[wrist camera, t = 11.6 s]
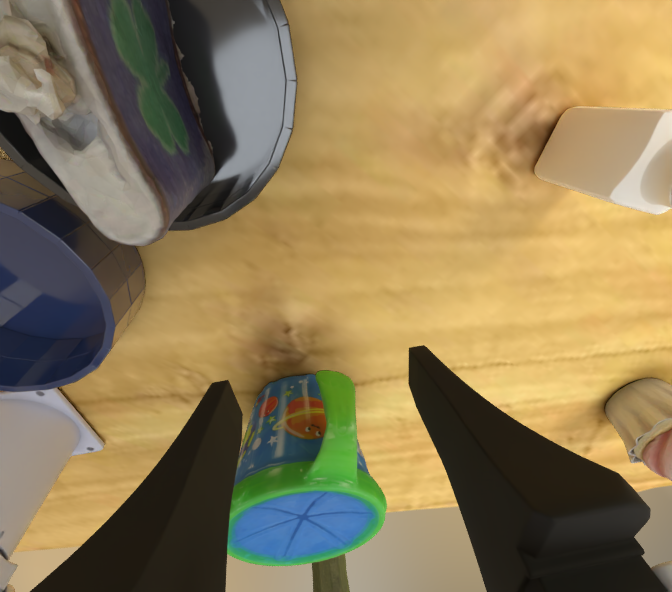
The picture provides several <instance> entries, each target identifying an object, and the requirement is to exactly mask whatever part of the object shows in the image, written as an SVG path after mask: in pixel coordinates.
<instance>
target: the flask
mask: <svg viewBox="0 0 672 592" xmlns="http://www.w3.org/2000/svg"><path fill="white" fill-rule="evenodd" d="M173 24H175V21H173V20H172V16H171V12H170V8H169V2H168V0H0V110H3V111H5V112H14V113H15V114H16V115H17V117H18V118H19V119H20V121H21V123H22V125H23V127H24V129H25V131H26V132H27V133H28V135H29V136H30V137H31V138H32V140H33V141H34V143H35V145H36V147H37V149H38V151H39V153H40V154H41V155H42V157H43V158H44V159H45V161H46V162H47V163H48V164H49V166H50V167H51V168H52V170H53V171H54V172H55V174H56V175H57V176H58V178H59V179H60V181H61V182H62V183H63V185H64V186H65V188H66V189H67V191H68V192H69V194H70V195H71V197H72V198H73V200H74V201H75V203H76V204H77V205H78V207H79V208H80V209H81V210H82V211H83V212H84V213H85V214H86V215H87V216H88V217H89V219H90V220H91V222H92V223H93V225H94V226H95V227H96V228H97V229H98V230H99V231H100V232H101V233H102V234H103V235H105V236H106V237H107V238H109V239H110V240H113V241H116V242H118V243H120V244H125V245H131V246H146V245H149V244H152V243H154V242H156V241H158V240H160V239H161V238H163V237H164V236H165V235H166V233H167V232H168V230H169V228H170V226H171V224H172V223H173V221H174V220H175V219H176V218H177V217H178V216H179V215H180V213H181V212H182V211H183V210H184V209H185V208H186V207H187V205H188V204H190V203H191V202H192V201H193V199H194V198H195V197H196V196H197V195H198V194H199V193H200V192H201V191H202V190H203V189H204V188H205V187H206V186H208V185H209V183H210V182H211V181H212V179H213V178H214V175H215V172H216V171H215V164H214V157H213V152H212V149H213V147H212V146H211V143H210V141H207V139H206V137H205V135H204V132H203V128H202V124H201V123H200V122H201V118H200V115H199V114H200V109H199V106H198V97H197V96H196V94H195V92H194V87H193V86H192V85H191V82H188V78H187V77H186V75H185V74H184V72H183V71H182V67H181V61H180V60H181V59H182V58H183V57H184V55H183V54H182V53H181V52H180V49H179V48H178V46H177V44H176V43H175V39H174V36H173Z"/></svg>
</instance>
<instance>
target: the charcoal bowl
mask: <svg viewBox="0 0 672 592" xmlns="http://www.w3.org/2000/svg"><path fill="white" fill-rule="evenodd" d="M168 2H169V8H170V12H171V16H172V20H173V21H175V24H173V36H174V39H175V43H176V44H177V46H178V48H179V49H180V52H181V53H182V54H183V55H184V57H183V58H182V59H181V60H180V61H181V67H182V71H183V72H184V74H185V75H186V77H187V78H188V82H191V85H192V86H193V87H194V92H195V94H196V96H197V97H198V106H199V109H200V114H199V115H200V118H201V122H200V123H201V124H202V128H203V132H204V135H205V137H206V139H207V141H210V143H211V146H212V147H213V149H212V152H213V157H214V164H215V171H216V172H215V175H214V178H213V179H212V181H211V182H210V183H209V185H208V186H206V187H205V188H204V189H203V190H202V191H201V192H200V193H199V194H198V195H197V196H196V197H195V198H194V199H193V201H192V202H191V203H190V204H188V205H187V207H186V208H185V209H184V210H183V211H182V212H181V213H180V215H179V216H178V217H177V218H176V219H175V220H174V221H173V223H172V224H171V226H170V228H169V230H168V231H184V230H193V229H197V228H200V227H203V226H206V225H210V224H213V223H216V222H220V221H223V220H225V219H227V218H229V217H230V216H232V215H233V214H234V213H236V212H237V211H239V210H240V209H242V208H243V207H245V206H246V205H248V204H249V203H250V202H252V201H253V200H254V199H256V197H257V196H258V195H259V194H260V192H261V191H262V190H263V188H264V187H265V186H266V184H267V183H268V182H269V181H270V179H271V178H272V177H273V175H274V174H275V173H276V172H277V170H278V168H279V166H280V163H281V160H282V158H283V155H284V152H285V150H286V147H287V144H288V142H289V139H290V136H291V134H292V131H293V130H292V129H293V125H294V114H295V103H296V92H297V74H296V67H295V60H294V54H293V47H292V40H291V34H290V27H289V24H288V20H287V17H286V15H285V12H284V9H283V7H282V4H281V2H280V0H168ZM0 147H1V148H2V149H3V151H4V152H5V153H6V154H7V155H8V156H9V157H10V158H11V159H12V160H13V161H14V162H15V163H16V164H17V165H18V167H20V168H21V169H22V170H23V171H25V172H26V173H27V174H29V175H30V176H31V177H33V178H34V179H36V180H37V181H38V182H40V183H41V184H42V185H44V186H45V187H46V188H48V189H49V190H51V191H52V192H53V193H55V194H56V195H57V196H59V197H60V198H62V199H63V200H65V201H66V202H68V203H70V204H73V205H75V206H77V207H78V205H77V204H76V203H75V201H74V200H73V198H72V197H71V195H70V194H69V192H68V191H67V189H66V188H65V186H64V185H63V183H62V182H61V181H60V179H59V178H58V176H57V175H56V174H55V172H54V171H53V170H52V168H51V167H50V166H49V164H48V163H47V162H46V161H45V159H44V158H43V157H42V155H41V154H40V153H39V151H38V149H37V147H36V145H35V143H34V141H33V140H32V138H31V137H30V136H29V135H28V133H27V132H26V131H25V129H24V127H23V125H22V123H21V121H20V119H19V118H18V117H17V115H16V114H15V113H14V112H5V111H3V110H0Z"/></svg>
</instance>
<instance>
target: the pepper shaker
mask: <svg viewBox="0 0 672 592" xmlns="http://www.w3.org/2000/svg"><path fill="white" fill-rule="evenodd" d="M534 173H535V174H536V175H537V177H538V178H539V179H541V180H544V181H547V182H550V183H553V184H556V185H559V186H562V187H565V188H568V189H571V190H574V191H577V192H580V193H583V194H586V195H589V196H592V197H595V198H598V199H602V200H605V201H608V202H611V203H614V204H617V205H621V206H625V207H628V208H632V209H636V210H639V211H643V212H647V213H651V214H655V215H659V214H661V213H664V212H666V211H667V210H669V209H671V208H672V109H645V108H617V107H588V106H577V107H572V108H569V109H567V110H566V111H565V112H564V113H563V114H562V116H561V117H560V119H559V121H558V123H557V125H556V127H555V129H554V131H553V133H552V135H551V137H550V139H549V140H548V142H547V144H546V146H545V148H544V150H543V152H542V154H541V156H540V158H539V160H538V162H537V164H536V166H535V170H534Z"/></svg>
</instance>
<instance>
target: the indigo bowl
mask: <svg viewBox="0 0 672 592" xmlns="http://www.w3.org/2000/svg"><path fill="white" fill-rule="evenodd" d="M144 292H145V274H144V268H143V265H142V261H141V258H140V256H139V253H138V251H137V248H136V247H135V246H131V245H125V244H120V243H118V242H116V241H113V240H110V239H109V238H107V237H106V236H105V235H103V234H102V233H101V232H100V231H99V230H98V229H97V228H96V227H95V226H94V225H93V223H92V222H91V220H90V219H89V217H88V216H87V215H86V214H85V213H84V212H83V211H82V210H81V209H80V208H79V207H77V206H75V205H73V204H70V203H68V202H66V201H65V200H63V199H62V198H60V197H59V196H57V195H56V194H55V193H53V192H52V191H51V190H49V189H48V188H46V187H45V186H44V185H42V184H41V183H40V182H38V181H37V180H36V179H34V178H33V177H31V176H30V175H29V174H27V173H26V172H25V171H23V170H22V169H21V168H20V167H18V165H17V164H16V163H15V162H14V161H11V160H5V159H0V391H8V392H27V391H40V390H50V389H53V388H57V387H60V386H64V385H67V384H70V383H74V382H76V381H78V380H80V379H81V378H83V377H85V376H86V375H88V374H89V373H91V372H92V371H94V370H96V369H97V368H98V367H99V366H100V364H101V363H102V362H103V360H104V359H105V357H106V356H107V355H108V353H109V352H110V351H111V349H112V348H113V346H114V345H115V343H116V342H117V340H118V339H119V338H120V336H121V335H122V333H123V332H124V330H125V329H126V327H127V326H128V325H129V323H130V322H131V320H132V319H133V317H134V316H135V314H136V313H137V312H138V310H139V309H140V306H141V303H142V300H143V296H144Z"/></svg>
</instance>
